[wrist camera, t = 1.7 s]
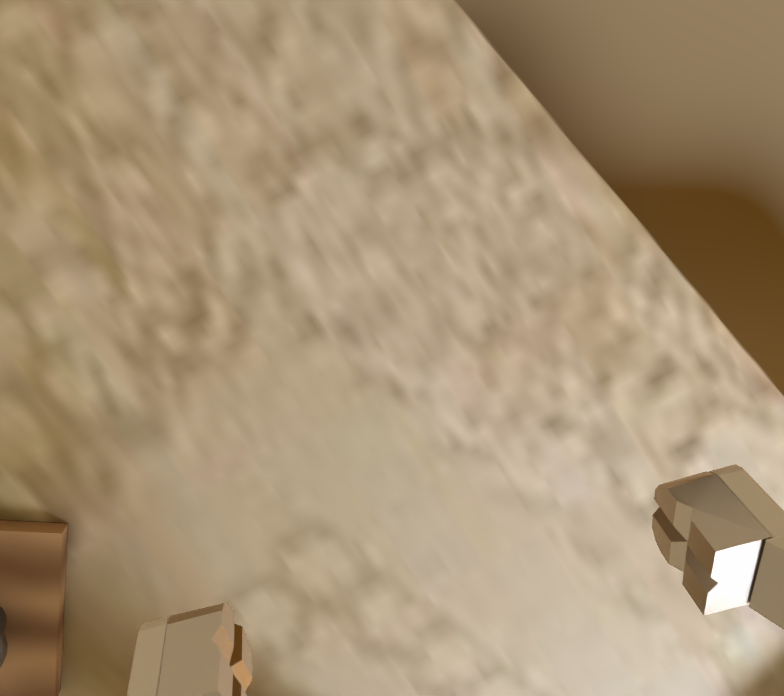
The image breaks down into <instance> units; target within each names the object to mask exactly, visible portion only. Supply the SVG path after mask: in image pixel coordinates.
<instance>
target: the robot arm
mask: <svg viewBox="0 0 784 696" xmlns="http://www.w3.org/2000/svg"><path fill="white" fill-rule="evenodd" d="M654 499H655V501H656V502H657V504H658V505H659V506H660V507H659V508H658V509H657V511H656V512H655V513H654V514H653V519H652V529H653V532H654V536H655V540H656V543H657V545H658V547H659V549H660V551H661V553H662V554H663V556H664V557H665V559H666V561H667V562H668V564H670V565H672V566H674V567H676V568H677V569H679V570H681V571H683V583H682V584H683V586H684V587H685V589H686V590H687V592H688V593H689V595H690V596H691V598H692V599H693V600H694V602H695V603H696V605H697V606H698V608H699V609H700V611H701V612H702V614H703V615H708V614H712V613H716V612H720V611H724V610H728V609H732V608H735V607H739V606H743V605H747V604H749V607H750V608H751V609H753V610H755V611H756V612H758V613H759V614H761V615H762V616H764V617H765V618H767V619H768V620H770V621H771V622H773V623H775V624H776V625H778V626H779V627H781V628H782V629H784V511H783V510H782V509H781V508H780V507H779V505H778V504H777V503H776V502H775V501H774V500H773V499H772V498H771V497H770V496H769V495H768V494H767V493H766V492H765V491H764V490H763V489H762V488H761V487H760V486H759V485H758V484H757V483H756V482H755V480H754V479H753V478H752V477H751V476H750V475H749V474H748V473H747V472H746V471H745V470H744V469H743V468H742V467H740V466H738V465H731V466H727V467H724V468H720V469H716V470H713V471H710V472H703V473H699V474H696V475H692V476H689V477H685V478H682V479H678V480H675V481H671V482H668V483H664V484H661V485H659V486H658V487H657V488H656V490H655V497H654ZM234 622H235V612H234V610H233V609H232V607H231V605H230V604H229V602H226V603H222V604H218V605H214V606H210V607H206V608H202V609H198V610H194V611H190V612H186V613H181V614H177V615H173V616H169V617H165V618H161V619H157V620H154V621H150V622H146V623H143V624H142V626H141V628H140V630H139V632H138V634H137V639H136V645H135V651H134V656H133V662H132V667H131V673H130V679H129V684H128V690H127V696H247V694H246V692H245V691H246V689H247V688H248V686H249V684H250V683H251V681H252V679H253V677H252V657H251V650H250V644H249V641H248V638H247V635H246V633H245V631H244V629H243V627H242V626H239V625H237V624H234Z"/></svg>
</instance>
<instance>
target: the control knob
mask: <svg viewBox="0 0 784 696" xmlns="http://www.w3.org/2000/svg"><path fill="white" fill-rule="evenodd" d="M5 626H6V614H5V612H4V610H3V608H2V607H1V606H0V668H1V666H2V664H3V662H4V660H5V658H6V655H7V649H8V645H7V639H6V636H5V634H4V632H3V630H4V628H5Z"/></svg>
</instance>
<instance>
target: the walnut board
mask: <svg viewBox="0 0 784 696" xmlns="http://www.w3.org/2000/svg"><path fill="white" fill-rule="evenodd" d="M67 536H68V523H50V522H30V521H9V520H0V606H1V607H2V608H3V610H4V612H5V614H6V626H5V628H4V630H3V632H4V634H5V636H6V639H7V645H8V649H7V655H6V658H5V660H4V662H3V664H2V666H1V668H0V696H58V694H59V691H60V689H61V669H62V647H63V625H64V603H65V581H66V558H67Z"/></svg>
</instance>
